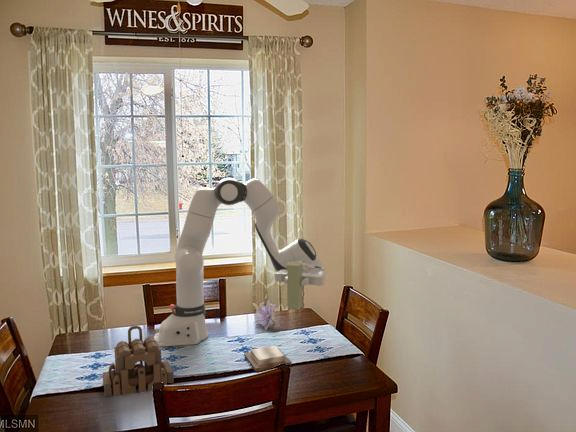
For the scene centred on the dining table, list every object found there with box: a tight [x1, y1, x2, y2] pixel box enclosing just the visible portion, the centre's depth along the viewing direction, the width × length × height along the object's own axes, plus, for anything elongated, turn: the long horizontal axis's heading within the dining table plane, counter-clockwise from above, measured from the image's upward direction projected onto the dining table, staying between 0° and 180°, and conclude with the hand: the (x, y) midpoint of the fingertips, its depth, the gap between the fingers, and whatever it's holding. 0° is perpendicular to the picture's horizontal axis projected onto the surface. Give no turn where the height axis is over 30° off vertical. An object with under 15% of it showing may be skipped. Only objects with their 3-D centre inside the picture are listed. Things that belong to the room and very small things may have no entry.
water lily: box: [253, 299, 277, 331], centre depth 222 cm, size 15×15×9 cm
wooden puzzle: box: [101, 325, 175, 397], centre depth 166 cm, size 22×15×19 cm, turn 114°
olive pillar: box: [286, 260, 303, 310], centre depth 190 cm, size 5×5×18 cm
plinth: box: [243, 345, 293, 372], centre depth 184 cm, size 14×14×3 cm
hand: (294, 282), depth 189 cm, fingers closed on olive pillar, 4 cm apart
